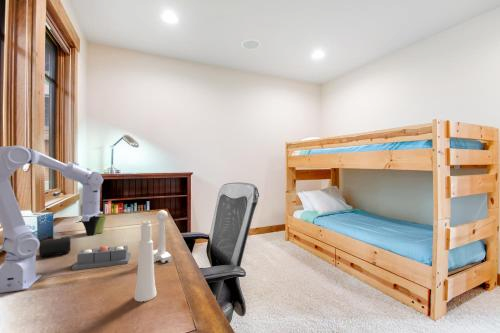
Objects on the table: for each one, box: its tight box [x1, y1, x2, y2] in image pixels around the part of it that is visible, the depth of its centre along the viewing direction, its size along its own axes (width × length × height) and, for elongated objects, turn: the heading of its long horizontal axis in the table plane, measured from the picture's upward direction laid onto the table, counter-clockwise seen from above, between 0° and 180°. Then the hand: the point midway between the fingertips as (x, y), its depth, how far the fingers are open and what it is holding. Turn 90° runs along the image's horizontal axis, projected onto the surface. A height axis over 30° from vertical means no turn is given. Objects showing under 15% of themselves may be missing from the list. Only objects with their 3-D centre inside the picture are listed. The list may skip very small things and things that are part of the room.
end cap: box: [38, 236, 72, 258], centre depth 101 cm, size 10×7×7 cm
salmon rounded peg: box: [99, 245, 109, 252], centre depth 94 cm, size 3×3×5 cm
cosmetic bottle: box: [133, 220, 157, 302], centre depth 70 cm, size 6×6×22 cm
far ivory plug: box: [115, 245, 124, 250], centre depth 96 cm, size 3×3×5 cm
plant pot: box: [94, 215, 107, 235], centre depth 134 cm, size 9×9×9 cm
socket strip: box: [72, 245, 132, 271], centre depth 94 cm, size 9×18×5 cm, turn 111°
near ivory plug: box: [83, 248, 92, 253], centre depth 92 cm, size 3×3×5 cm
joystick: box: [153, 209, 172, 264], centre depth 97 cm, size 11×8×20 cm
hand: (90, 235), depth 95 cm, fingers closed
